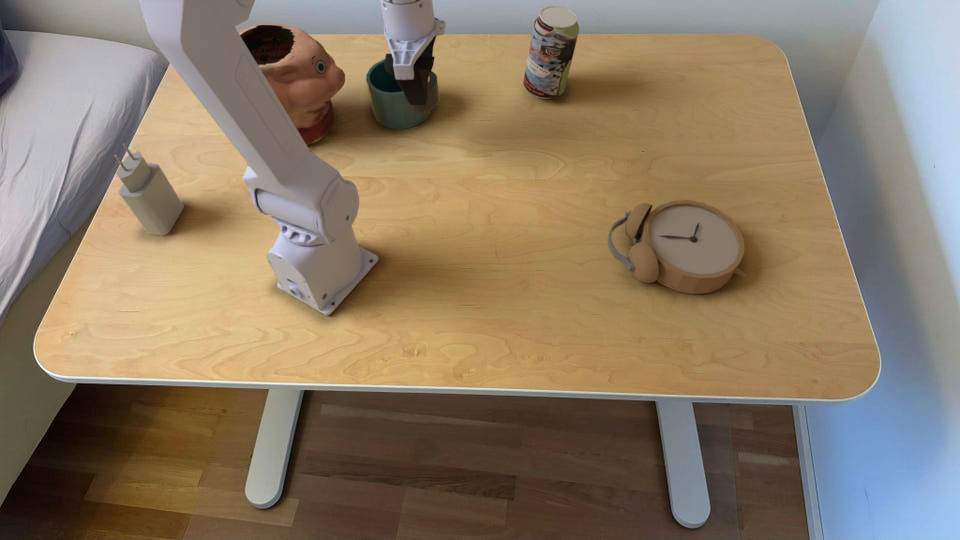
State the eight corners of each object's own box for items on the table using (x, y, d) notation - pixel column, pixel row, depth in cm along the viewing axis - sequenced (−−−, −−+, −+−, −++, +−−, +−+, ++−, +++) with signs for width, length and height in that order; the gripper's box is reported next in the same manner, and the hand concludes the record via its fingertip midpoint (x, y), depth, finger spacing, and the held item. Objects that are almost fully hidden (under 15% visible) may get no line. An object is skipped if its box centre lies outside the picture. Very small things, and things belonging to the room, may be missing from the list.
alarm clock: (755, 282, 71) (618, 263, 70) (734, 307, 75) (604, 289, 74) (739, 204, 77) (613, 185, 76) (721, 230, 81) (601, 212, 80)
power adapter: (185, 204, 86) (143, 134, 76) (166, 236, 83) (120, 167, 73) (164, 201, 86) (119, 131, 77) (144, 233, 83) (94, 165, 74)
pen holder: (408, 136, 91) (402, 102, 86) (362, 116, 94) (353, 82, 89) (442, 102, 95) (438, 67, 90) (397, 84, 98) (390, 49, 93)
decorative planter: (209, 159, 91) (164, 75, 79) (229, 101, 98) (191, 16, 87) (353, 154, 90) (329, 69, 78) (363, 96, 97) (342, 9, 86)
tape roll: (426, 116, 83) (423, 95, 80) (398, 104, 84) (394, 83, 81) (446, 96, 85) (444, 74, 82) (419, 85, 86) (415, 63, 83)
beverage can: (516, 85, 97) (515, 10, 87) (560, 70, 98) (564, -5, 88) (536, 110, 93) (538, 36, 83) (582, 94, 95) (589, 19, 85)
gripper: (434, 28, 68) (446, 129, 78) (446, -47, 76) (456, 54, 87) (366, 29, 68) (388, 129, 79) (386, -46, 77) (403, 54, 88)
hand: (420, 90), depth 83 cm, fingers closed on tape roll, 4 cm apart
